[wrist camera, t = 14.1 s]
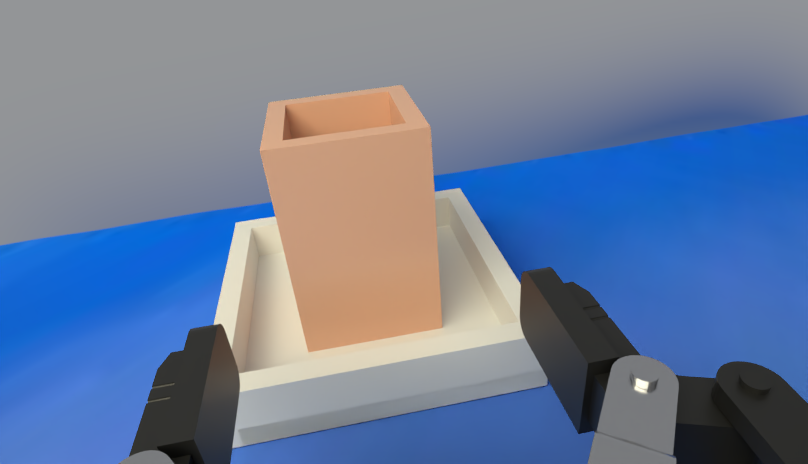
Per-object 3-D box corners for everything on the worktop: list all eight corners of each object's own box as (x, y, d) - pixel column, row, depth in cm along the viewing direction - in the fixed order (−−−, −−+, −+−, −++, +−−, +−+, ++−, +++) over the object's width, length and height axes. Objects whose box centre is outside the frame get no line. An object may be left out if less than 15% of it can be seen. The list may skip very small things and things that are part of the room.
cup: (416, 256, 30) (402, 84, 25) (442, 327, 25) (430, 126, 20) (306, 274, 29) (268, 102, 24) (308, 352, 24) (259, 150, 19)
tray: (461, 228, 34) (459, 187, 33) (547, 385, 22) (551, 333, 21) (247, 263, 33) (236, 222, 31) (218, 451, 21) (197, 400, 19)
